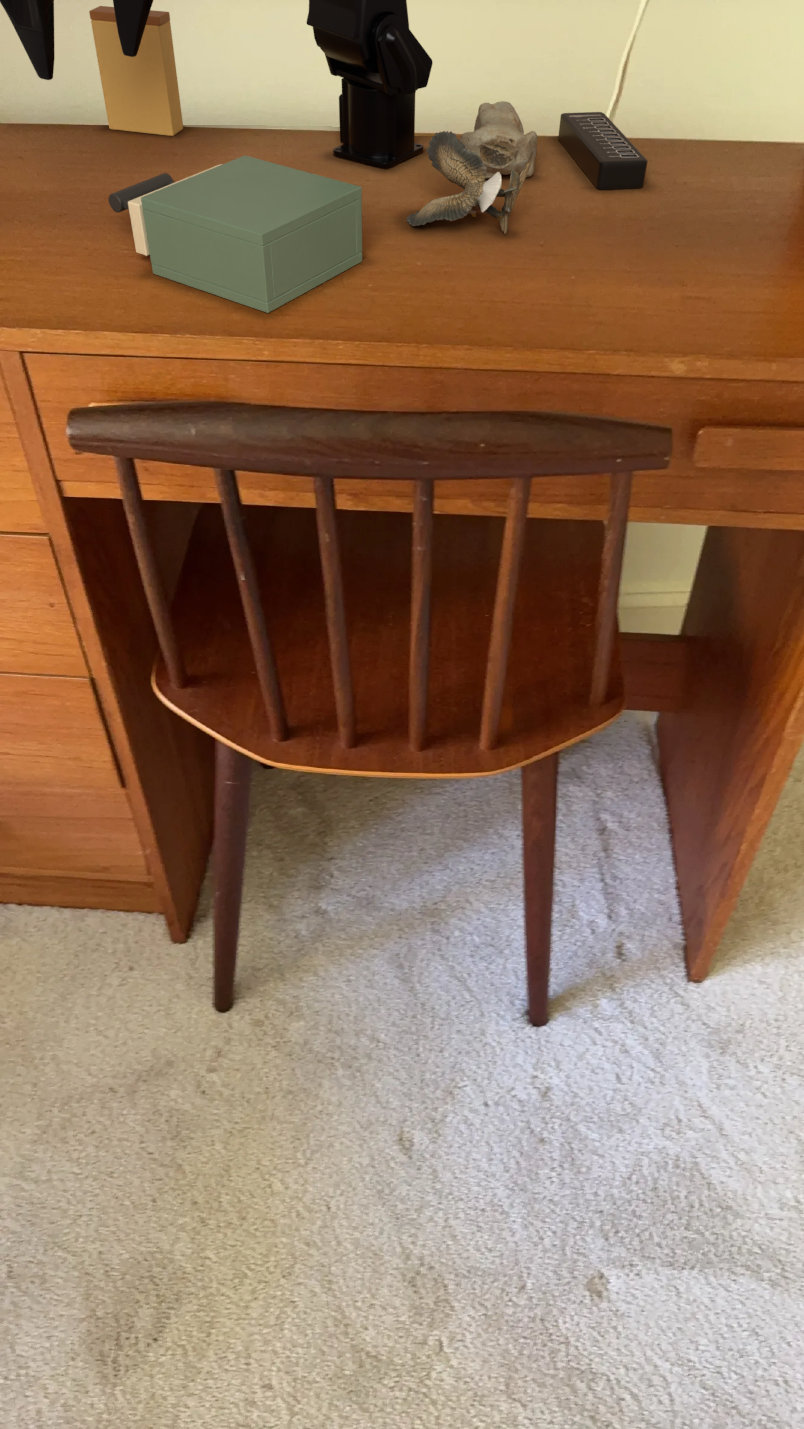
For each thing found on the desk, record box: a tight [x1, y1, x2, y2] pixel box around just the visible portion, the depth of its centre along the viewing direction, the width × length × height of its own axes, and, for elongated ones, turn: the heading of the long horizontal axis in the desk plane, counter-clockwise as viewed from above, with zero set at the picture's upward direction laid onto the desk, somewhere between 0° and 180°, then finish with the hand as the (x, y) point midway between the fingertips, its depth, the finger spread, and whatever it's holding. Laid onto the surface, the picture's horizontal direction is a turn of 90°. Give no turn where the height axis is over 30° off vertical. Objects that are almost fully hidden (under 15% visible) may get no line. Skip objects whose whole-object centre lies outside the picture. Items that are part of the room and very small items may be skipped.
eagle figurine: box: [406, 130, 530, 235], centre depth 86 cm, size 8×7×9 cm
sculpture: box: [459, 100, 538, 180], centre depth 97 cm, size 7×5×15 cm
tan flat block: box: [88, 5, 184, 137], centre depth 101 cm, size 7×2×10 cm, turn 74°
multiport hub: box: [557, 111, 649, 191], centre depth 98 cm, size 4×14×2 cm, turn 9°
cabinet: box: [141, 155, 363, 314], centre depth 79 cm, size 12×12×6 cm
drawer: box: [108, 163, 223, 257], centre depth 81 cm, size 15×10×4 cm
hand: (89, 66), depth 78 cm, fingers open, 9 cm apart
